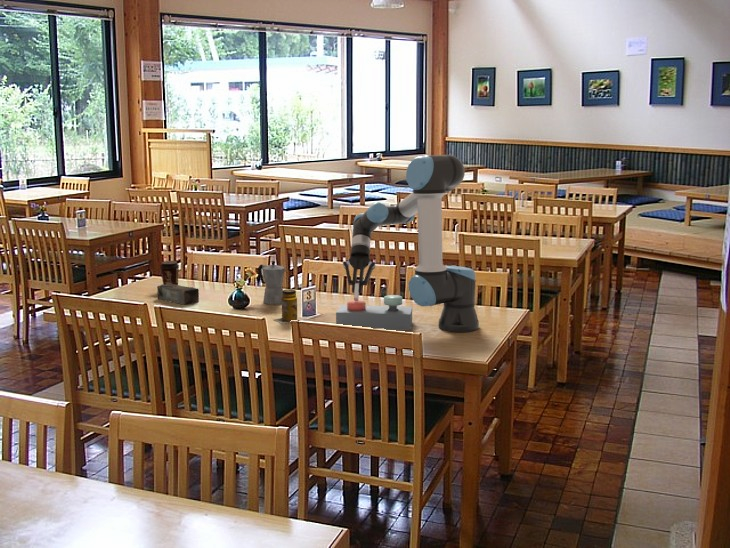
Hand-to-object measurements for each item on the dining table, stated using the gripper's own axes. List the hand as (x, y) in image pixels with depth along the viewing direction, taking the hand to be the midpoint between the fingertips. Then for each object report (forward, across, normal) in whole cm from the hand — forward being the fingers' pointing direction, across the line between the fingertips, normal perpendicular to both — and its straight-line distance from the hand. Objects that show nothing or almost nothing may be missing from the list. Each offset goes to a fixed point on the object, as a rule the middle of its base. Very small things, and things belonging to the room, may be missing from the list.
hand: (356, 299), depth 312 cm
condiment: (+5, +27, -9) cm, 29 cm away
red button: (+7, 0, -6) cm, 9 cm away
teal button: (+5, -14, -4) cm, 16 cm away
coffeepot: (-16, +40, -31) cm, 53 cm away
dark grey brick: (-15, +81, -30) cm, 87 cm away
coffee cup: (-29, +90, -44) cm, 105 cm away
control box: (+7, -7, -6) cm, 12 cm away
